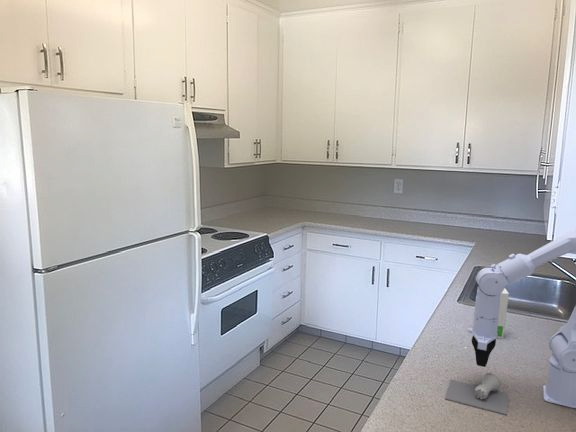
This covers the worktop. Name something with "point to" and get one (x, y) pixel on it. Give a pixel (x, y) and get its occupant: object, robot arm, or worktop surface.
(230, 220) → the worktop surface
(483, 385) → the rook chess piece
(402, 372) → the worktop surface
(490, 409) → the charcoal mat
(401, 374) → the worktop surface
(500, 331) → the skincare box
